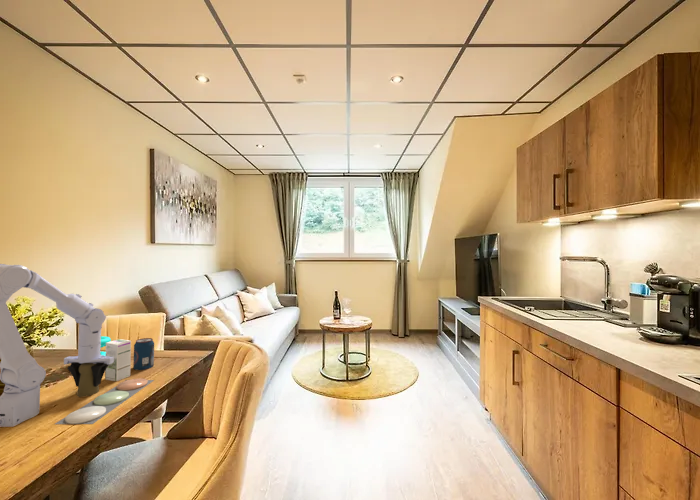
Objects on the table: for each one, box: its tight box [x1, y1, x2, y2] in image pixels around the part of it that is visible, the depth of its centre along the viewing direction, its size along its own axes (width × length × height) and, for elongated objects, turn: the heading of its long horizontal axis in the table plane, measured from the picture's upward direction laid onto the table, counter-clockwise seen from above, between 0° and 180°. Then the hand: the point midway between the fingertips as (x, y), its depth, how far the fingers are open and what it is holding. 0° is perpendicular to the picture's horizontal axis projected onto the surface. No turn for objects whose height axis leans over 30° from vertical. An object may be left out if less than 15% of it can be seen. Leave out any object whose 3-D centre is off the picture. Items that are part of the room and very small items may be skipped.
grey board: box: [54, 379, 155, 425], centre depth 101 cm, size 30×10×1 cm, turn 3°
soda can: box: [132, 337, 155, 371], centre depth 130 cm, size 7×7×12 cm
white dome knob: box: [64, 406, 106, 425], centre depth 91 cm, size 9×9×1 cm
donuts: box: [100, 335, 112, 356], centre depth 137 cm, size 10×10×10 cm
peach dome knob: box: [116, 378, 149, 391], centre depth 112 cm, size 9×9×1 cm
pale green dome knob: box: [93, 391, 129, 406], centre depth 101 cm, size 9×9×1 cm
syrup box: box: [104, 338, 132, 382], centre depth 118 cm, size 6×6×14 cm
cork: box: [76, 363, 100, 398], centre depth 105 cm, size 6×6×11 cm
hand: (88, 385), depth 105 cm, fingers closed on cork, 5 cm apart
